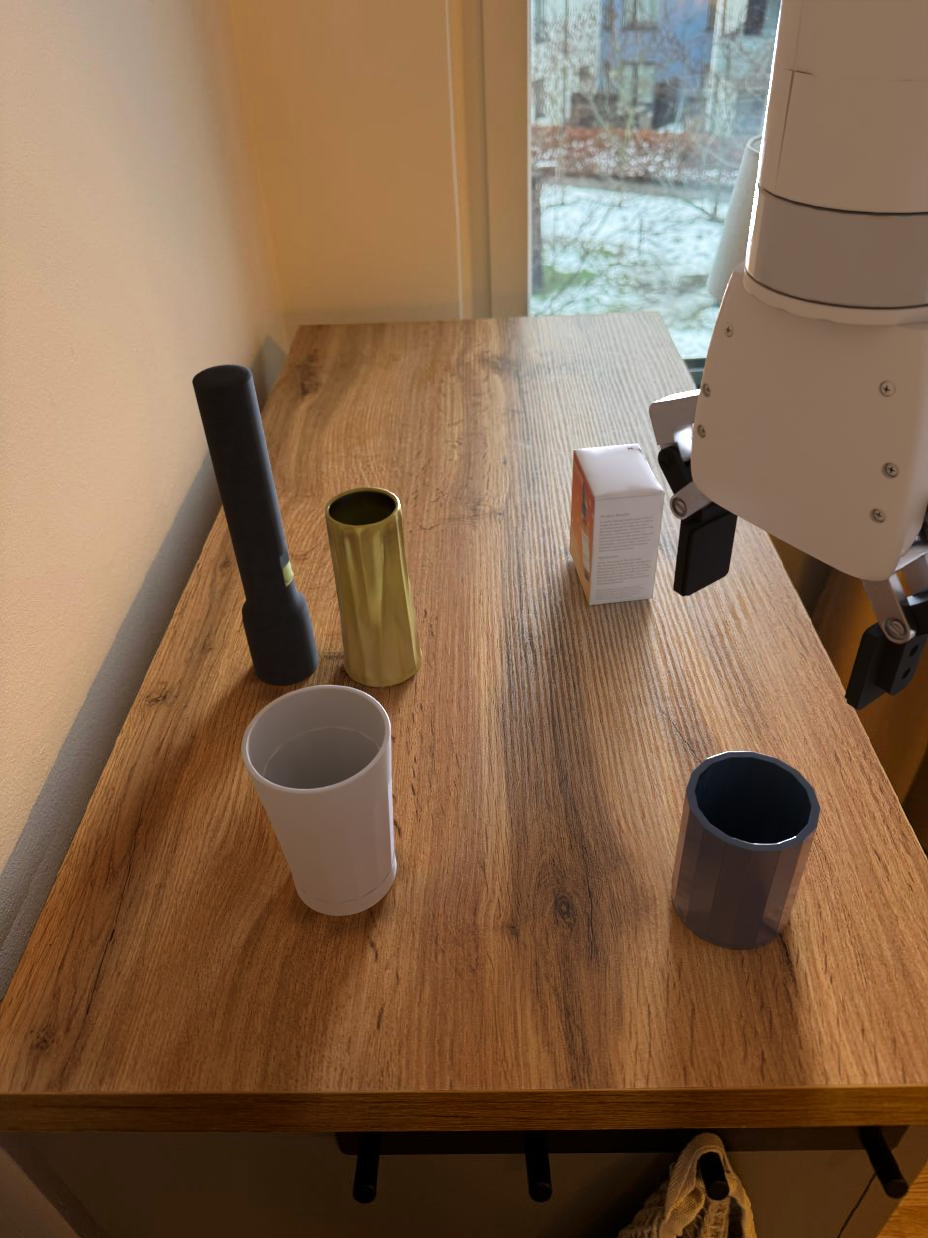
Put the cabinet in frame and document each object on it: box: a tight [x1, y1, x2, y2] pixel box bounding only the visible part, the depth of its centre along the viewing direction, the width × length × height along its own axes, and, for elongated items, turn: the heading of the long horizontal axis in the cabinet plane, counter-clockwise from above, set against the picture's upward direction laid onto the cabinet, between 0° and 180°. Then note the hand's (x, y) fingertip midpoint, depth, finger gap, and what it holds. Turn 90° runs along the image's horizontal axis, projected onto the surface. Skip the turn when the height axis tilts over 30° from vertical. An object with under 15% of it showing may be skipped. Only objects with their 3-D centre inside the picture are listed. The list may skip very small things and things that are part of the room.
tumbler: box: [670, 750, 821, 951], centre depth 51 cm, size 7×7×9 cm
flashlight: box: [191, 363, 320, 687], centre depth 64 cm, size 5×24×5 cm
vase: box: [324, 486, 423, 688], centre depth 67 cm, size 6×6×14 cm
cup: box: [240, 684, 398, 917], centre depth 53 cm, size 8×8×12 cm
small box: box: [568, 443, 666, 606], centre depth 76 cm, size 8×6×10 cm
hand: (780, 634), depth 41 cm, fingers open, 9 cm apart
